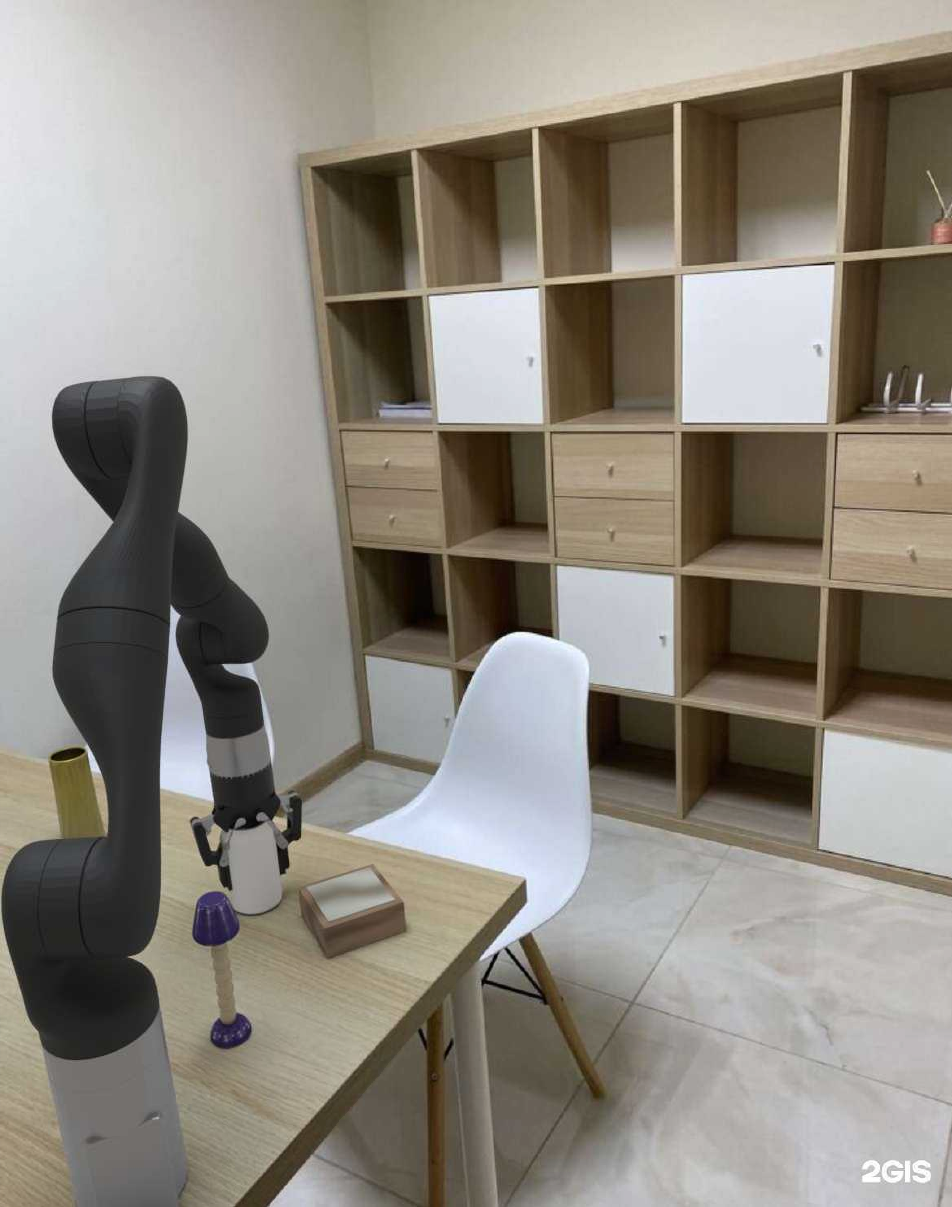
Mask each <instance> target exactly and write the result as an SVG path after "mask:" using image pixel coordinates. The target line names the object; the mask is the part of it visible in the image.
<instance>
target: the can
mask: <svg viewBox="0 0 952 1207" xmlns="http://www.w3.org/2000/svg"><path fill="white" fill-rule="evenodd" d="M268 818H269V817H268ZM228 829H229V832H227V833H226V832H225V831H224V830H223V831H222V830H221V831H222V840H223V843H226V842H227V841H228V840H229V837H230V834H231V831H232V830H233V834H232V837H231V839H230V850H228V857H229V864H228V865H229V867H230V875H231V882H232V890H231V891H229V896H230V903H231V905H232V907H233V910H234V911H235V912H238V913H239V914H242V915H246V916H247V915H248V916H255V915H261V914H264V913H265V914H266V913H268V912H269V911H271V910H273V909H275V908H276V907H277V906H278V905H279V903H280V902H281V900H283V899H282V898H283V890H282V880H281V875H280V870H279V862H278V854H277V846H276V841H275V838H274V834H273V830H272V828H271V827H270V826H269V825H268V823H267V821H265V822H263V823H262V824H260V823H259V822H257V823H253V824H249V825H246V826H244V829H242V830H237V829H231V828H228Z"/></svg>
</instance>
